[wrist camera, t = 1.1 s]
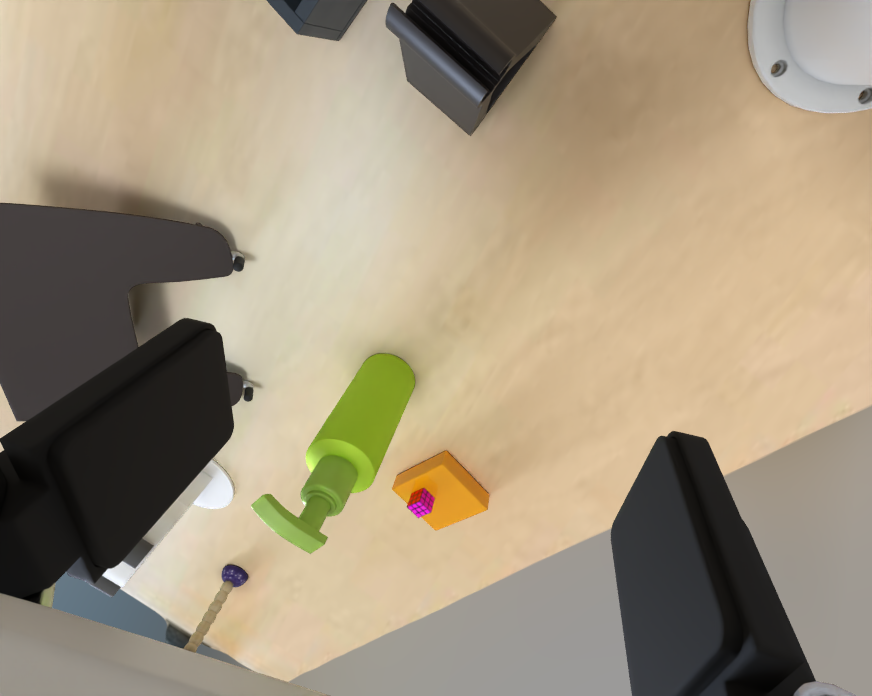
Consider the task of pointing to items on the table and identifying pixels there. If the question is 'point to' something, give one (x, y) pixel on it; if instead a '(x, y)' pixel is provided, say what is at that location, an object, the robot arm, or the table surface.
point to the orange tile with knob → (441, 491)
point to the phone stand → (466, 50)
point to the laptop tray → (87, 293)
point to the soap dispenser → (345, 450)
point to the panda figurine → (171, 523)
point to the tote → (318, 16)
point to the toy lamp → (217, 603)
